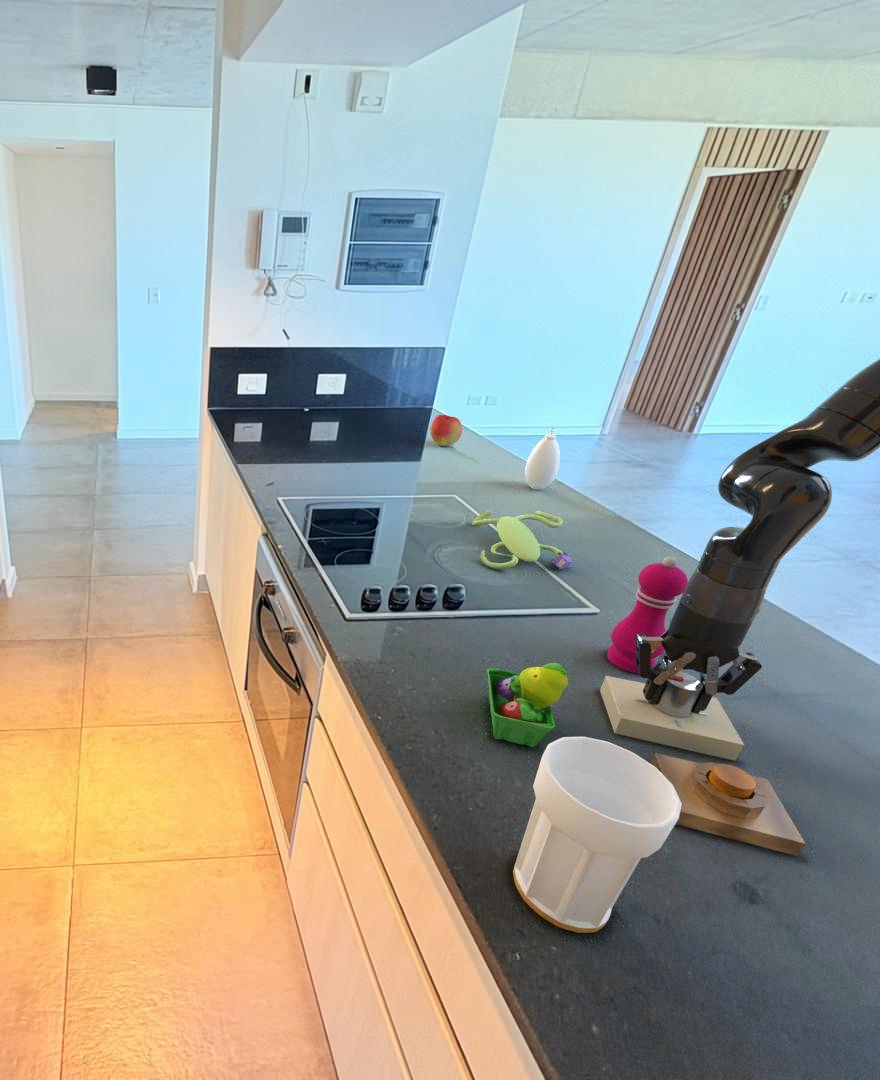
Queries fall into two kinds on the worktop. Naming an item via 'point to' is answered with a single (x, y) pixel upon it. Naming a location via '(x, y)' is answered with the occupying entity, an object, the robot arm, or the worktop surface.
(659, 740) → the dimmer panel
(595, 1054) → the worktop surface
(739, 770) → the light button
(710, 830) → the switch block
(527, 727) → the fruit basket
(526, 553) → the figurine
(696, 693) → the dimmer knob
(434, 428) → the apple
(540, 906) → the cup
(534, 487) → the sauce bottle
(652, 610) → the pepper mill
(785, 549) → the robot arm
